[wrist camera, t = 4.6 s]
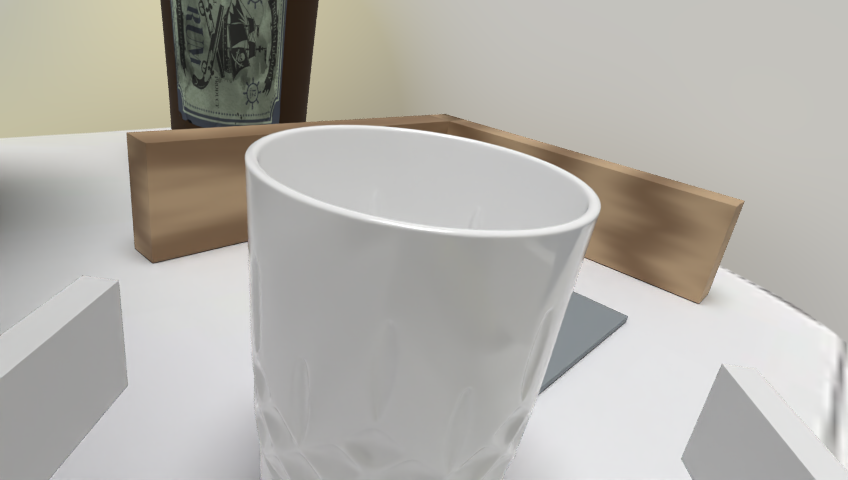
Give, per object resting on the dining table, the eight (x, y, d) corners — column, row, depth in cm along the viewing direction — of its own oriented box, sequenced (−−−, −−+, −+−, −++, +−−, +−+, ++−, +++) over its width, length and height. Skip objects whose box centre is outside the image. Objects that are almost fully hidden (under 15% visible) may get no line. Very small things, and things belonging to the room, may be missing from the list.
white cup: (449, 387, 21) (499, 133, 17) (561, 579, 14) (685, 232, 10) (234, 413, 18) (236, 115, 14) (248, 668, 11) (260, 235, 8)
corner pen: (134, 248, 28) (126, 132, 25) (434, 185, 45) (445, 114, 43) (478, 531, 15) (523, 355, 13) (708, 294, 33) (744, 201, 30)
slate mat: (294, 290, 26) (294, 284, 26) (448, 239, 35) (449, 235, 35) (498, 427, 19) (500, 421, 19) (626, 321, 28) (627, 316, 28)
